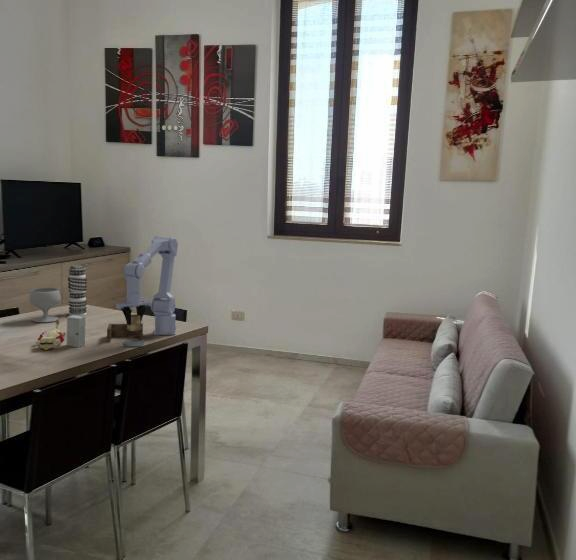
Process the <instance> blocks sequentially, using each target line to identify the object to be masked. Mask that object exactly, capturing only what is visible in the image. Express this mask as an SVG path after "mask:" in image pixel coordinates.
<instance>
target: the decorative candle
mask: <svg viewBox="0 0 576 560" xmlns="http://www.w3.org/2000/svg"><path fill="white" fill-rule="evenodd" d="M86 270H87V269H86V268H85V267H84V266H83V265H82V264H81V265H80V264H73V265H71V266H70V267H69V268H68V271H69V273H68V276H67V281H68V283H67V284H68V286H67V288H68V293H69V298H68V299H69V300H68V303H69V304H68V306H69V307H68V313H69V316H72V315H76V316H83V317H84V316H86V315H88V314H87V311H88V310H87V309H88V307H87V305H88V304H87V297H86V293H87V284H88V283H87V280H88V278H87V279H86Z"/></svg>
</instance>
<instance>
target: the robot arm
mask: <svg viewBox="0 0 576 560" xmlns="http://www.w3.org/2000/svg"><path fill="white" fill-rule="evenodd" d="M178 245H179V243H178V240H177V239H176V237H173V236H172V237H171V236H158V235H155V236H154V237H153V238H152V239H151V245H150V246H149V247H148V249H147V250H146V251H144V252H140V253H139V254H138V255H137V256H136V257H135V259H133V261H132V262H128V263H127V264H125V266H124V269H123V275H124V276H125V279H124V280H125V281H126V301H124V302H119V303H115V308H116V309H117V310H121V311H122V313H123V316H124V318H125V321H126V324H127V325H131V315H132V312H133V310H132V309H131V308H136V309H135V310H136V314H137V315H139V316H140V324H141V323H142V321H143V317H144V315H145V313H146V310H147V307H150V309H151V312H153V314H154V329H153V335H154V336H158V335H159V336H160V335H161V336H163V335H165V336H167V335H176V330H177V326H176V314H175V309H176V298H175V296H173V294H172V293H171V290H172V289H171V288H172V282H173V281H172V280H173V275H174V274H173V273H174V265H175V257H177V255H178V254H177V253H178ZM157 254H158V255H159V256H161V258H162V260H161V261H162V263H161V267H160V268H161V271H160V278H159V285H158V292H157V293H155V294H154V295H153V297H152V300H142V277H143V276H144V274H145V271H146V268H147V267H148V266H149V265H150V264H151V263H152V258H154V256H156V255H157Z"/></svg>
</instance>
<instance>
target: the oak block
mask: <svg viewBox="0 0 576 560" xmlns="http://www.w3.org/2000/svg"><path fill="white" fill-rule="evenodd" d="M127 329H128V330H130V331H137V330H140V316H139V315H137V313H135V314H134V313H133V314H131V325H127Z"/></svg>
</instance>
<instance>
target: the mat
mask: <svg viewBox="0 0 576 560" xmlns="http://www.w3.org/2000/svg"><path fill="white" fill-rule="evenodd" d="M144 347H145V340H142V341H139V340H125V341H124V343H123V348H126V349H127V348H144Z"/></svg>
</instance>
